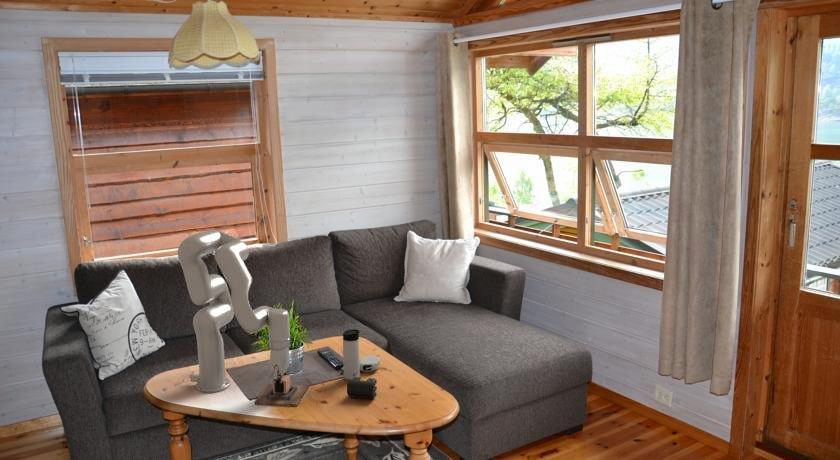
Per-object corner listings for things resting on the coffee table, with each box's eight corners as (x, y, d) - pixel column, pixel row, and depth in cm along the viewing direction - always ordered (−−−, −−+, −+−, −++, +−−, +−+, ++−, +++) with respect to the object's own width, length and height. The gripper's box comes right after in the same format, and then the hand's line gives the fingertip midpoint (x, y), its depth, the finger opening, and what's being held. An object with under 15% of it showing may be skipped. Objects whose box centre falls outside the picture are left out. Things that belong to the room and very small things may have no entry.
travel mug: (358, 382, 268) (357, 333, 264) (341, 381, 270) (340, 332, 266) (362, 376, 274) (361, 328, 270) (346, 374, 276) (345, 327, 272)
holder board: (254, 404, 250) (253, 399, 249) (268, 386, 265) (267, 381, 265) (297, 406, 248) (297, 401, 248) (308, 387, 264) (308, 382, 263)
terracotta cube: (273, 393, 254) (272, 380, 253) (277, 387, 259) (276, 374, 258) (286, 393, 254) (285, 380, 253) (290, 387, 258) (289, 375, 257)
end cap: (346, 400, 253) (346, 383, 252) (352, 392, 260) (351, 375, 259) (373, 402, 251) (372, 384, 250) (377, 394, 258) (377, 377, 257)
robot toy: (340, 376, 276) (377, 375, 275) (339, 366, 276) (376, 364, 274) (346, 364, 288) (382, 363, 287) (345, 354, 288) (381, 353, 286)
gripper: (276, 334, 261) (278, 379, 265) (262, 351, 245) (264, 398, 248) (296, 335, 260) (297, 380, 264) (282, 351, 244) (284, 399, 247)
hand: (281, 388), depth 256 cm, fingers closed on terracotta cube, 4 cm apart
